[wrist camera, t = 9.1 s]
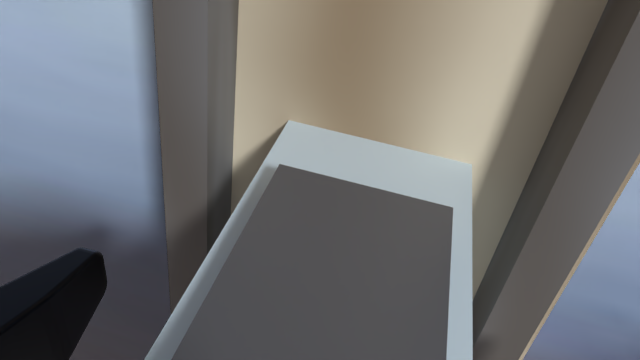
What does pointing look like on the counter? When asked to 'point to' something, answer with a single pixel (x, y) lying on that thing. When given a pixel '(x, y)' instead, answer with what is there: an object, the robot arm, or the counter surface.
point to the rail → (413, 121)
